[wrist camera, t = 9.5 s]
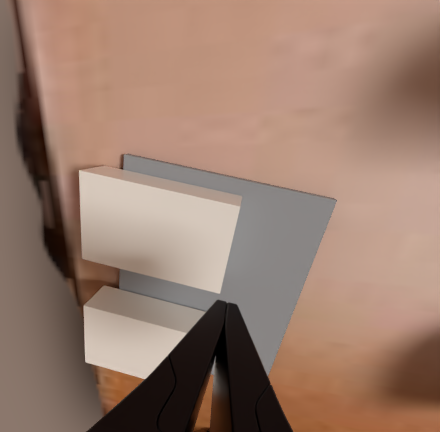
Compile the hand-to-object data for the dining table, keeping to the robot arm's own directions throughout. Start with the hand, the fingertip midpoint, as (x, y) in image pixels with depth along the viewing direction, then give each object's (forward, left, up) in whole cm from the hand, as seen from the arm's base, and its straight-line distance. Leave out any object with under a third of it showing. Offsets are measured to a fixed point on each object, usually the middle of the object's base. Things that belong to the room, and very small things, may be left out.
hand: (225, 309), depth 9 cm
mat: (-5, +2, -8) cm, 9 cm away
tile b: (0, 0, -6) cm, 6 cm away
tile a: (-10, 0, -6) cm, 12 cm away
